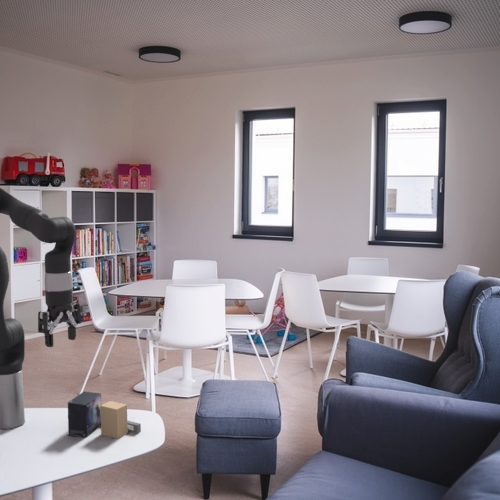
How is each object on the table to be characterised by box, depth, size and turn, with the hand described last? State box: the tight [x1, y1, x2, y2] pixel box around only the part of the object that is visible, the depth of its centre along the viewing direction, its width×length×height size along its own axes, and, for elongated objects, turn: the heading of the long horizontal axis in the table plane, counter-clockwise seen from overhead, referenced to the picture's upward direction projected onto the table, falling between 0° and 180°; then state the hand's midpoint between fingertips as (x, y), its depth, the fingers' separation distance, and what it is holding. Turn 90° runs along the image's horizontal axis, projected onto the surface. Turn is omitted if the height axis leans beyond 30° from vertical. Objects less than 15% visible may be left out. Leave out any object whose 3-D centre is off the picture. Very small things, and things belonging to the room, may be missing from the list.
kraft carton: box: [100, 400, 129, 439], centre depth 200 cm, size 5×6×9 cm
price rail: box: [127, 420, 142, 434], centre depth 206 cm, size 22×2×2 cm, turn 60°
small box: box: [67, 391, 102, 438], centre depth 202 cm, size 11×6×10 cm, turn 166°
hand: (60, 343), depth 190 cm, fingers open, 8 cm apart
